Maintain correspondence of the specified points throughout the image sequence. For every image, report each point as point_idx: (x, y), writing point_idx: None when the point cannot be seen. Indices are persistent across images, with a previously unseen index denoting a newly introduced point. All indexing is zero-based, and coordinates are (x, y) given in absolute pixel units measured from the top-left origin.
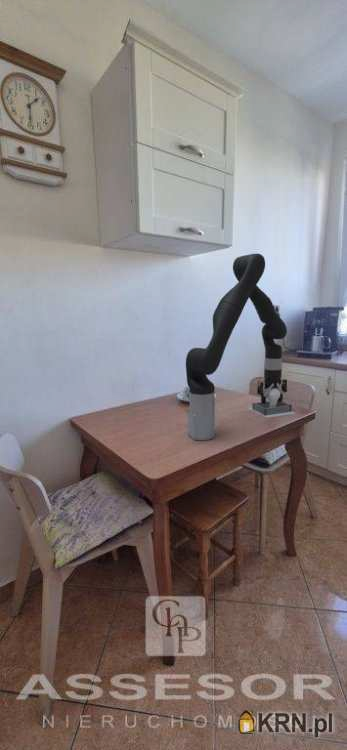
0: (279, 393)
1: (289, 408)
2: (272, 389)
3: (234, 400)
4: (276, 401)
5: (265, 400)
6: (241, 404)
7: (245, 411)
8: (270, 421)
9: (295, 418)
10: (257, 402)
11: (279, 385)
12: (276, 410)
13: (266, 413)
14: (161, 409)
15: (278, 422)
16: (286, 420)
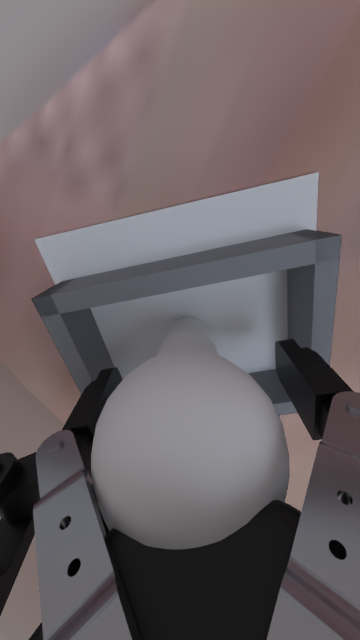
0: (120, 405)
1: (67, 286)
2: (242, 504)
3: (291, 503)
4: (166, 349)
5: (298, 358)
6: (296, 457)
7: (356, 359)
8: (341, 66)
9: (73, 112)
10: (280, 414)
11: (46, 626)
12: (197, 257)
13: (298, 233)
14: None
15: (286, 4)
16: (177, 63)
